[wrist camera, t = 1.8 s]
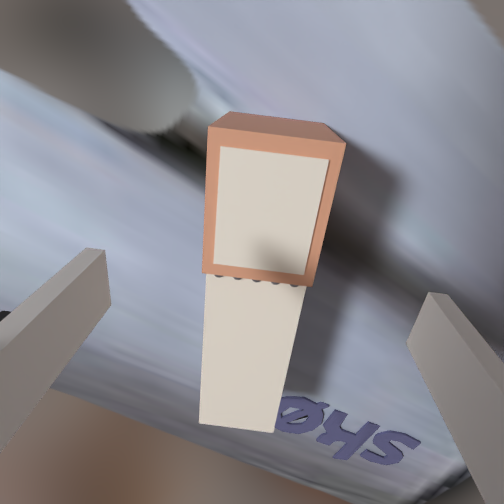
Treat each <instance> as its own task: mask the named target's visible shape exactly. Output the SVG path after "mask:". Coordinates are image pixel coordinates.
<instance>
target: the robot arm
mask: <svg viewBox="0 0 504 504" xmlns="http://www.w3.org/2000/svg"><path fill="white" fill-rule="evenodd" d="M110 306H111V298H110V289H109V281H108V272H107V263H106V255H105V250H101V249H93V248H85V249H84V250H83V251H82V252H81V253H79V254H78V255H77V256H76V257H75V258H74V259H72V260H71V261H70V262H69V263H68V264H67V265H65V266H64V267H63V268H62V269H61V270H60V271H58V272H57V273H56V274H55V275H54V276H53V277H52V278H50V279H49V280H48V281H47V282H46V283H45V284H43V285H42V286H41V287H40V288H39V289H38V290H36V291H35V292H34V293H33V294H32V295H31V296H29V297H28V298H27V299H26V300H25V301H24V302H23V303H21V304H20V305H19V306H18V307H17V308H16V309H14V310H13V311H12V312H9V311H1V312H0V453H1V452H2V450H3V449H4V448H5V446H6V445H7V444H8V442H9V441H10V440H11V438H12V437H13V436H14V434H15V433H16V431H17V430H18V429H19V427H20V426H21V425H22V423H23V422H24V421H25V420H26V418H27V417H28V416H29V414H30V413H31V411H32V410H33V409H34V407H35V406H36V405H37V403H38V402H39V401H40V399H41V398H42V397H43V395H44V394H45V393H46V391H47V390H48V389H49V387H50V386H51V385H52V383H53V382H54V381H55V379H56V378H57V377H58V375H59V374H60V373H61V371H62V370H63V369H64V367H65V366H66V365H67V363H68V362H69V361H70V359H71V358H72V357H73V355H74V354H75V353H76V351H77V350H78V349H79V347H80V346H81V345H82V343H83V342H84V341H85V339H86V338H87V337H88V335H89V334H90V333H91V331H92V330H93V329H94V327H95V326H96V325H97V323H98V322H99V321H100V319H101V318H102V317H103V315H104V314H105V313H106V311H107V310H108V308H109V307H110ZM406 345H407V347H408V349H409V351H410V353H411V355H412V357H413V359H414V361H415V363H416V365H417V367H418V369H419V371H420V373H421V375H422V377H423V379H424V381H425V383H426V385H427V387H428V389H429V391H430V393H431V395H432V397H433V399H434V401H435V403H436V405H437V407H438V409H439V411H440V413H441V415H442V417H443V419H444V421H445V423H446V425H447V427H448V429H449V431H450V433H451V435H452V437H453V439H454V441H455V443H456V445H457V447H458V449H459V451H460V453H461V455H462V457H463V459H464V461H465V463H466V465H467V467H468V469H469V471H470V473H471V475H472V477H473V479H474V481H475V483H476V485H477V487H478V489H479V491H480V493H481V495H482V497H483V499H484V501H485V503H486V504H504V363H503V362H502V361H501V360H500V358H499V357H498V356H497V355H496V353H495V352H494V351H493V350H492V348H491V347H490V346H489V345H488V344H487V342H486V341H485V340H484V339H483V337H482V336H481V335H480V334H479V332H478V331H477V330H476V329H475V328H474V326H473V325H472V324H471V323H470V321H469V320H468V319H467V318H466V316H465V315H464V314H463V313H462V311H461V310H460V309H459V308H458V307H457V305H456V304H455V303H454V302H453V300H452V299H451V298H450V297H449V295H448V294H441V293H433V292H428V294H427V296H426V299H425V301H424V303H423V306H422V308H421V310H420V312H419V315H418V317H417V319H416V321H415V324H414V326H413V328H412V330H411V333H410V335H409V337H408V340H407V342H406Z"/></svg>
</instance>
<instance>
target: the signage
mask: <svg viewBox="0 0 504 504" xmlns="http://www.w3.org/2000/svg"><path fill="white" fill-rule="evenodd" d="M289 407H292V408H298V409H299V410H297V411H295V412H292V413H290V414H287V415H285V416H282V417H281V413H282V412H284V411H285V410H287V409H288V408H289ZM327 407H329V404H326V403H323V402H319V403H315V402H314V401H312V400H310V399H308V398H306V397H297V396H286V397H282V398H281V400H280V405H279V409H278V413H277V418H276V422H275V428H277V429H279V430H281V431H282V432H289V433H295V434H301V433H305V432H309V431H312V430H314V429H315V428H317V427H318V426H319V425H321V423H322V419H323V412H322V409H324V408H327ZM347 415H348V414H346V413H343V412H341V411H338V410H334V411H333V413H332V414H331V415H330V416H329V418H328V419H327V420H326V421H325V423H324V424H323V426H324V428H325V430H326V433H323V434H321V435H320V436H319V437H318V438H317V439H316V441H317V442H320V443H323V444H326V445H331V444H332V443H333V442H335V441H343V442H346V444H345V445H344V446H343V447H342V448H341V449H340V450H339V451H338V452H337V453H336V454H335V455H334V456H333V458H335V459H342V460H348V459H349V458H350V457H351V456H352V455H353V454H354V453H355V452H356V451H357V450H358V449H359V448H360V447H361V445H362V444H363V443H364V442H365V441H366V440H367V439H368V438H369V437H370V436H371V435H372V434H373V433H374V432H375V431H376V430H377V429H378V428H379V427H380V426H379V425H377V424H374V423H371V422H367V423H366V424H365V425H364V426H363V427H362V428H361V429H360V430H359V431H358V432H357V433H356V434H355V433H352V432H349V431H346V430H344V429H341V428H340V425H341V423H342V422H343V421H344V419H345V418H346V416H347ZM305 417H308V418H307V419H306V421H304V422H303V423H289V422H291V421H294V420H298V419H302V418H305ZM391 440H393V441H399V442H401V443H403V444H405V445H406V446H408V447H409V448H411V449H415V448H416V447H417V446H418V445H419V444H421V442H420V441H419V440H417V439H415V438H413V437H411V436H409V435H407V434H405V433H401V432H396V431H385V432H381V433H378V434H376V435H375V437H374V439H373V444H375V445H376V446H377V447H378V448H379V449H381V450H382V451H383V452H384V453H385V454H387V455H386V456H380V455H378V454H376V453H373V452H371V451H369V450H367V449H366V450H365V451H363V452H362V453H361V454H360V456H361V457H363V458H365V459H366V460H368V461H370V462H375V463H379V464H381V465H382V464H383V465H390V464H395V463H399V461H400V460H401V459H402V458H403V455H402V452H401V451H400V450H399V449H398V448H396V447H395V446H394V445H393V444H391V443H390V441H391Z"/></svg>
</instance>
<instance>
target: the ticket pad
mask: <svg viewBox="0 0 504 504" xmlns="http://www.w3.org/2000/svg"><path fill="white" fill-rule="evenodd" d="M305 291H306V286H300V285H292V284H284V283H276V282H268V281H260V280H253V279H245V278H237V277H229V276H221V275H213V274H206V293H205V313H204V333H203V353H202V373H201V393H200V413H199V423H202V424H209V425H217V426H225V427H232V428H240V429H248V430H255V431H263V432H271V433H273V431H274V427H275V422H276V418H277V413H278V409H279V405H280V400H281V396H282V392H283V387H284V383H285V378H286V374H287V370H288V365H289V361H290V356H291V352H292V348H293V343H294V339H295V334H296V330H297V326H298V321H299V317H300V313H301V308H302V304H303V299H304V295H305Z"/></svg>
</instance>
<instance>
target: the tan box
mask: <svg viewBox="0 0 504 504" xmlns="http://www.w3.org/2000/svg"><path fill="white" fill-rule="evenodd" d="M345 147H346V143H345V142H344V141H343V140H342V139H341V138H340V137H338V136H337V135H336V134H335V133H334V132H333V131H332V130H331V129H330V128H329V127H327V126H326V125H325V124H324V123H319V122H311V121H303V120H295V119H287V118H279V117H271V116H263V115H255V114H247V113H239V112H231V111H230V112H228V113H227V114H225V115H224V116H222V117H221V118H220V119H218V120H217V121H215V122H214V123H212V124H211V125H209V126H208V142H207V166H206V190H205V213H204V237H203V261H202V273H206V274H213V275H221V276H229V277H237V278H245V279H253V280H260V281H268V282H276V283H284V284H292V285H300V286H307V287H312V286H313V281H314V277H315V273H316V269H317V265H318V260H319V256H320V252H321V248H322V244H323V240H324V235H325V231H326V227H327V223H328V219H329V214H330V210H331V206H332V202H333V198H334V193H335V189H336V185H337V181H338V177H339V172H340V168H341V164H342V160H343V156H344V151H345Z"/></svg>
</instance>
